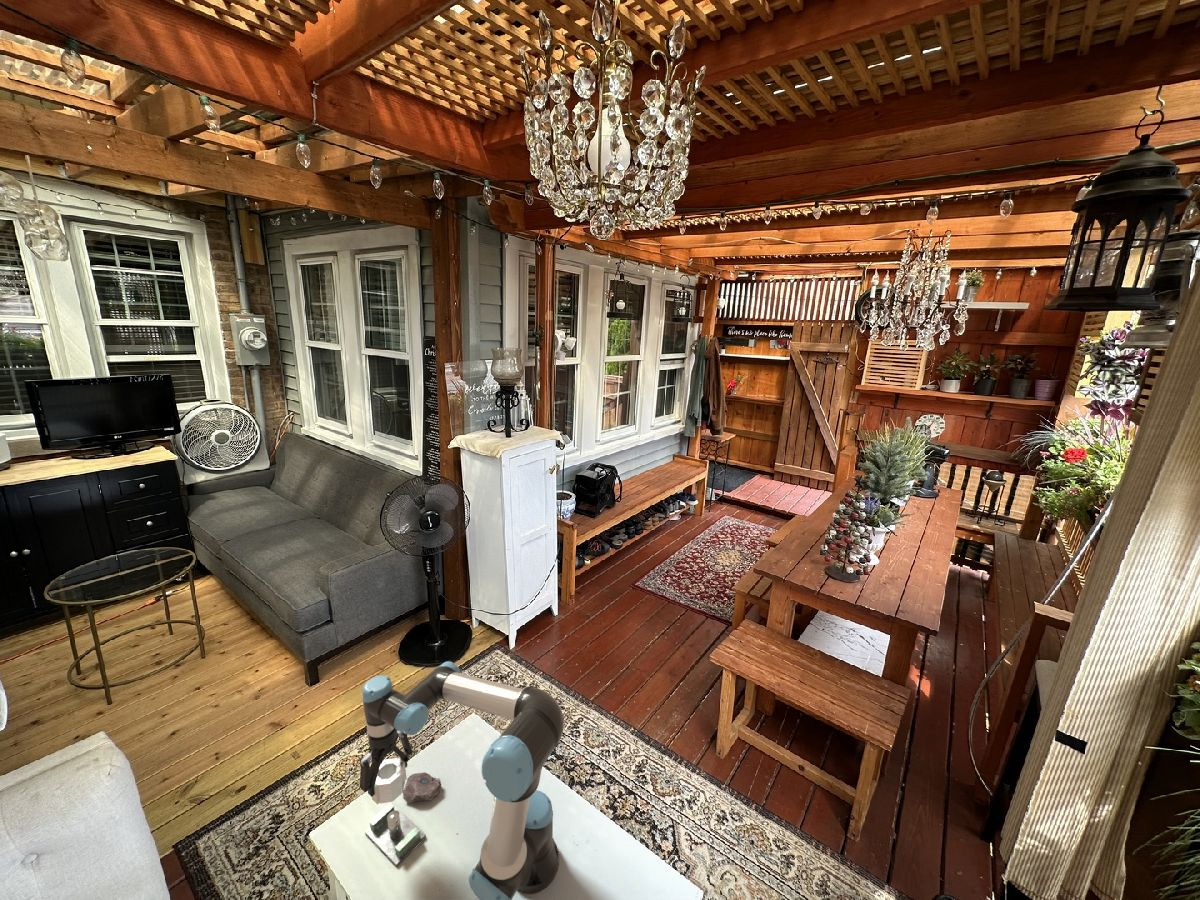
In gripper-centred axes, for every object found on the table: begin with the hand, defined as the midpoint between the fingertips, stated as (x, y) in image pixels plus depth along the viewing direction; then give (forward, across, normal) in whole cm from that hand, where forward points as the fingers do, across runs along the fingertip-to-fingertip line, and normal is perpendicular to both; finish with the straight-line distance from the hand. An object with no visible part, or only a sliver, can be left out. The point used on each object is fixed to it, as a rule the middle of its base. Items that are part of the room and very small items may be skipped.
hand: (389, 788), depth 139 cm
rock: (+19, -13, -5) cm, 24 cm away
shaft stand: (+19, 0, 0) cm, 19 cm away
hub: (0, 0, 0) cm, 0 cm away
